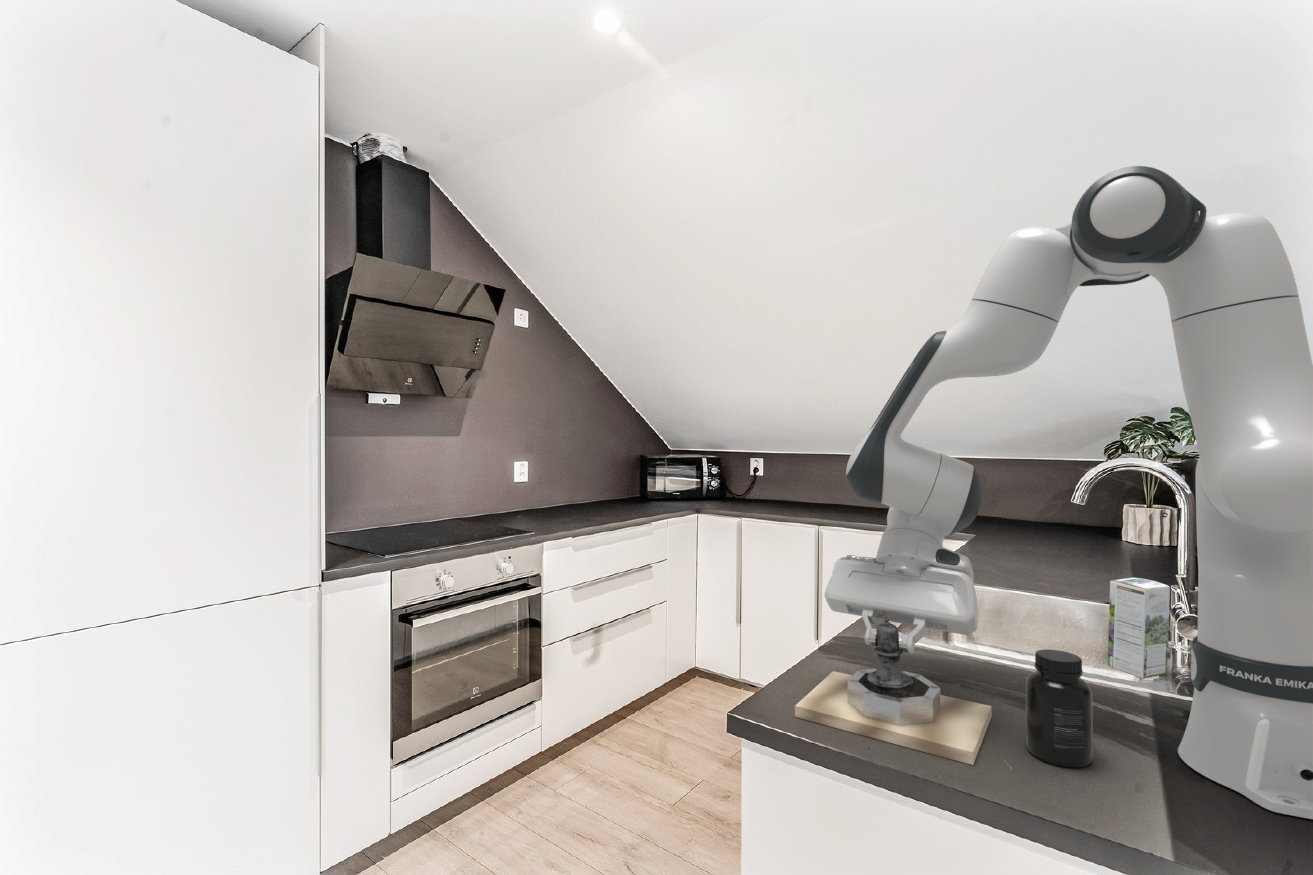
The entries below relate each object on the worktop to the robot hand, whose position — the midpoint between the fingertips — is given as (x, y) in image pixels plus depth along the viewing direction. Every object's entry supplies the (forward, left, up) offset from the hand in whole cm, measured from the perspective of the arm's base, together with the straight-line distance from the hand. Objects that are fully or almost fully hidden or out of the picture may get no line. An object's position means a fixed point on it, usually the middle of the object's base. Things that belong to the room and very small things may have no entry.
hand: (887, 646), depth 87 cm
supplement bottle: (-20, -2, -10) cm, 22 cm away
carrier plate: (-1, -1, -10) cm, 10 cm away
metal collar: (-1, -1, -8) cm, 8 cm away
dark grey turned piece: (0, -1, -8) cm, 8 cm away
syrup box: (-29, -40, -10) cm, 50 cm away
